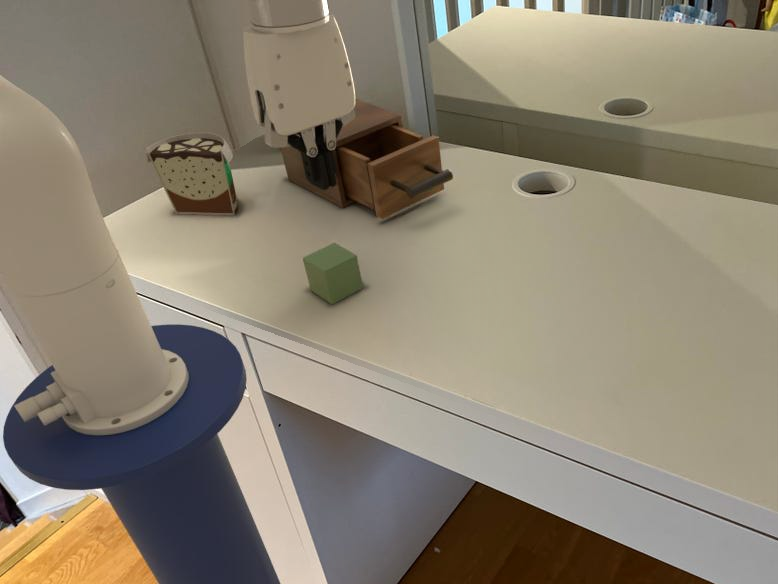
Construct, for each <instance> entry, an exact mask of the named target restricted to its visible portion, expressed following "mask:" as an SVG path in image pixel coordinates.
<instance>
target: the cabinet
mask: <svg viewBox="0 0 778 584" xmlns="http://www.w3.org/2000/svg"><path fill="white" fill-rule="evenodd" d="M354 110H355V113H356V117H355V119H354V120H352V121H351V122H349V123H348V124H346V125H345V126H342V128H341V130H340V132H339V134H338V136H337V138H336V147H338V146H340V145H343V144H345V143H348V142H350V141H353V140H355V139H358V138H360V137H362V136H365V135H367V134H370V133H372V132H375V131H377V130H380V129H382V128H385V127H387V126H390V125H392V124H393V125H396V126H398V127H401V128H404V123H403V116H402V114H400V113H397V112H394V111H391V110H388V109H385V108H383V107H380V106H378V105H375V104H372V103H369V102H366V101H364V100H361V99H359V98H356V97H355V107H354ZM311 131H312V128H311ZM279 149H280V152H281V157H282V160H283V164H284V169H285V172H286V175H287V179H288V181H291V182H292V183H294V184H296V185H298V186H300V187H302V188H304V189H305V190H308V191H309V192H311V193H312V194H315V195H317V196H319V197H321V198H323V199H324V200H326V201H329V202H330V203H332V204H334V205H336V206H338V207H340V208H342V209H343V208H346V207H348V206H350V205H353V204H355V203H358V202H357V201H355V200H353V199H351V198H349V197H347V196H346V195H345V194H344V189H343V184H342V179H341V174H340V169H339V164H338V159H337V154H336V150H335V149H334V150H332V151H333V156H334V162H335V167H336V174H335V176H336V182H337V185H336V186H334V187H331V186H330V187H329V189H326V190H322V189H320V188H318V187H316V186H314V185H312V184H311V183H310V182H309V181H308V180H307V178H306V175H305V170H304V166H303V161H302V156H301V152H299V151H297V150H296V149H294V148H293V147H291V146H288V147H281V148H279Z"/></svg>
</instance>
